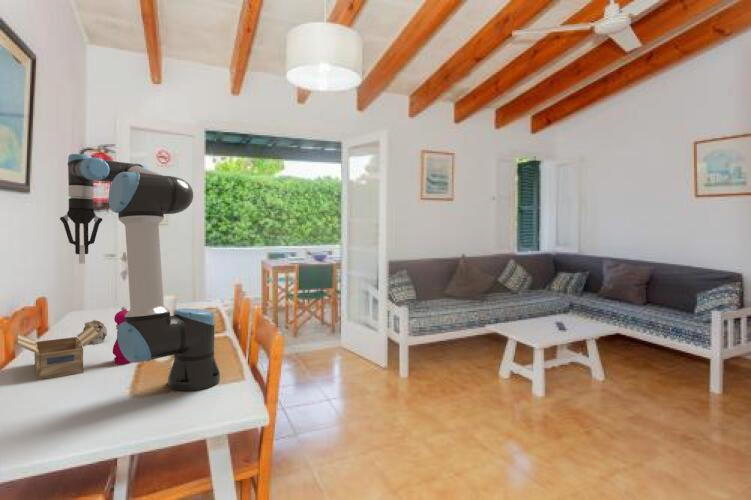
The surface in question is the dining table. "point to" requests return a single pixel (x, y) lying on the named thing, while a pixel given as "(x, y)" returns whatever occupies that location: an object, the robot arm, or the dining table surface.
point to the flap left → (26, 343)
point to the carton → (58, 358)
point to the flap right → (87, 336)
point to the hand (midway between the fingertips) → (81, 263)
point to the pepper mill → (116, 349)
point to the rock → (97, 330)
